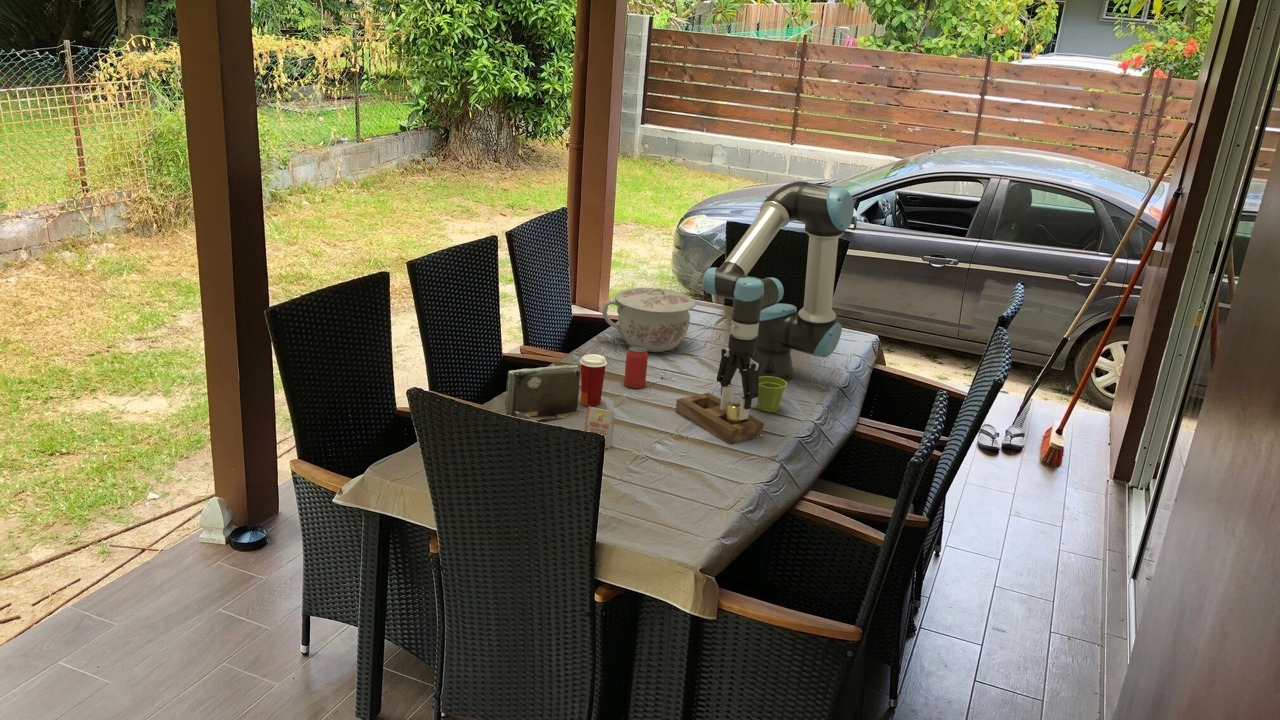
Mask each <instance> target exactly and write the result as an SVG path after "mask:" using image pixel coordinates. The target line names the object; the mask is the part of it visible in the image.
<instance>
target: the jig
mask: <svg viewBox="0 0 1280 720" xmlns="http://www.w3.org/2000/svg"><path fill="white" fill-rule="evenodd" d="M720 405H721V398H720V397H718V396H716V395H714V394H713V393H710V392H704V393H700V394H695V395H691V396H686V397H681V398H677V399H676V404H675V413H676V414H678V415H680V416H682V417H683V418H685V419H687V420H688V421H690V422H691V421H692V423H693V424H695V425H696V426H698V427H700V428H701V429H703V430H705V431H706V430H707V431H706V432H708V431H709V432H708V433H709V434H712V435H714V436H715V437H716V438H718V439H720V440H722V441H723V442H725V443H726V442H727V444H728V445H732V444H735V442H736V443H740V442H744V441H747V439H748V440H752V439H755V438H754V437H756V438H758V437H757V436H760V435H762V436H763V431H764V424H765V423H764V422H763V421H762V420H760V419H757V418H756V417H754V416H753V415H751V414H749V415H748V419H744V420H742V423H739V424H734V425H731V424H729V423H728V422H726V415H727V408H726V409H720ZM760 437H761V436H760ZM751 438H752V439H751ZM743 440H744V441H743ZM739 441H740V442H739Z"/></svg>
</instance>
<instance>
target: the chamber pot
mask: <svg viewBox="0 0 1280 720" xmlns="http://www.w3.org/2000/svg"><path fill="white" fill-rule="evenodd" d="M696 304H697V303H696V301H695V300H694V299H693V298H692V297H691V296H689V295H687V294H685V293H683V292H678V291H675V290H672V289H667V288H666V289H665V288H659V287H635V288H628V289H624V290H621V291H619V292H617V293H616V294H615V298H613V297H609V298H607V300H605V301H604V303H603V304H602V309H601V313H602V317H603V318H604V320H605V321H606V323H607V324H608V325H610V327H612V328H614V329H615V330H616V331H617V332H618V334H619V335H620V336H621V337H622V338H623V339H624V340H625V342H626V344H628V345H629V347H630V346H642V347H645V348H646V349H647V353H662V352H663V353H664V352H667V351H673V350H674V349H676V347H678V346H679V345H680V344H681V342H682V341H683V339H685V337H686V335H687V333H688V330H689V327H690V320H691V317H690V316H691V314H690V313H689V311H690V310H692V309H694V308H695V307H696ZM611 305H614V306H616V307H617V310H616V312H617V314H618V315H617V321H618V324H617V323H615V322H614V321H612V320H611V318H610V317H609V316H608V313H607V312H608V307H609V306H611Z"/></svg>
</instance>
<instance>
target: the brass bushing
mask: <svg viewBox="0 0 1280 720" xmlns="http://www.w3.org/2000/svg"><path fill="white" fill-rule="evenodd" d="M740 406H741V402H734V401H732V402H731V401H730V403H728V407H727V415H726V422H728V423H729V424H731V425H734V424H739V423H742V420H739V414H740Z"/></svg>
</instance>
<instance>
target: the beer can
mask: <svg viewBox="0 0 1280 720" xmlns="http://www.w3.org/2000/svg"><path fill="white" fill-rule="evenodd" d="M648 358H649V354H648V352H647V349H646V348H645V347H642V346H630V345H629V347H628V350H627V352H626V358H625V366H624V367H625V369H624V380H623V381H624V382H623V384H624V386H626V387H627V388H629V389H633V390H635V389H636V390H637V389H643V388H644V387H646V380H647V371H648V370H647V369H648Z"/></svg>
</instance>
